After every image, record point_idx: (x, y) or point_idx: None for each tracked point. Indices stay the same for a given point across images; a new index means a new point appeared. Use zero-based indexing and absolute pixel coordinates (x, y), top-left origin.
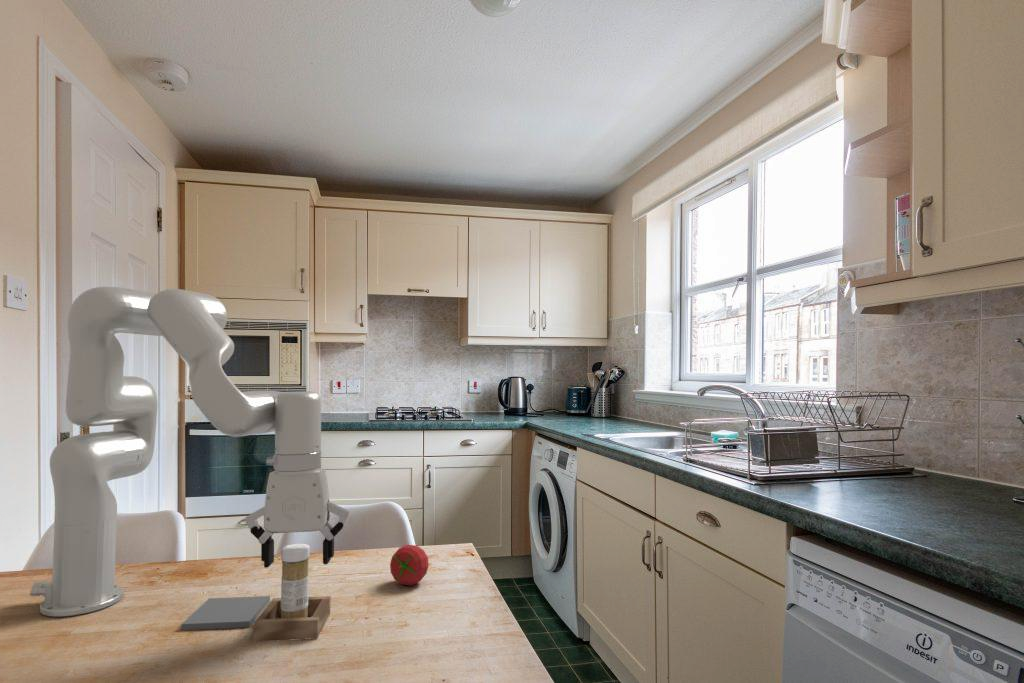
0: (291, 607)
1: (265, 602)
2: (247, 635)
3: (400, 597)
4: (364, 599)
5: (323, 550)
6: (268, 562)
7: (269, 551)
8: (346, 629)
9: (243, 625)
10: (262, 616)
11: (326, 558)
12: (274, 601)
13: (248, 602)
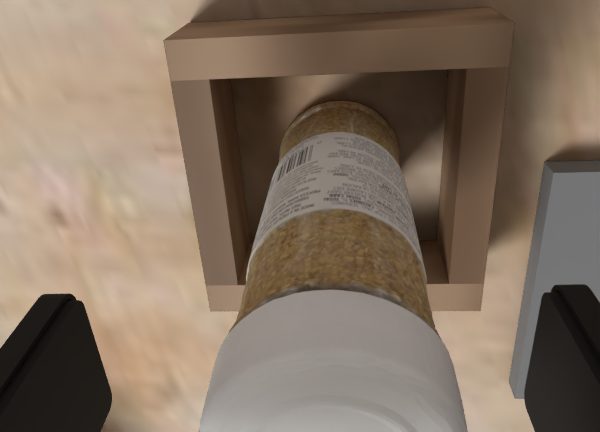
0: (334, 140)
1: (521, 351)
2: (535, 80)
3: None
4: (135, 366)
5: (18, 380)
6: (559, 313)
7: (593, 406)
8: (95, 113)
9: (575, 164)
10: (484, 104)
11: (23, 319)
12: (465, 277)
13: None
